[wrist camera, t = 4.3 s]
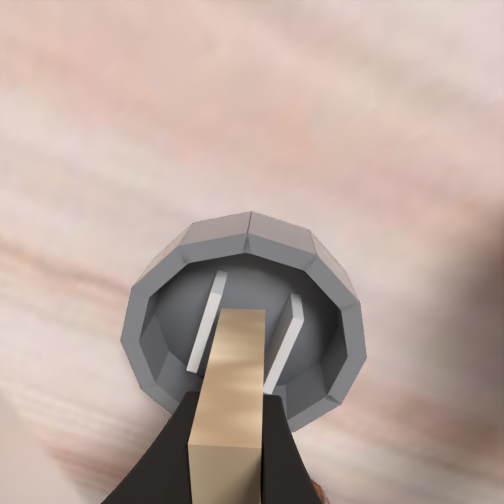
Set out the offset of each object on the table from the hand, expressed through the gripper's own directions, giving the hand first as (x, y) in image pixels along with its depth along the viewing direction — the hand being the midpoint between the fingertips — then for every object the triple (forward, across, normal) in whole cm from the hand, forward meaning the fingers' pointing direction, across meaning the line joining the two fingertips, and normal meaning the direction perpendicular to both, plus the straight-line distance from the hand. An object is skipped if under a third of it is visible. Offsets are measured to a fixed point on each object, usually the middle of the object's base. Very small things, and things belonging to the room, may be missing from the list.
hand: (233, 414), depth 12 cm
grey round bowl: (+7, 0, 0) cm, 7 cm away
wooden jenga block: (+5, 0, 0) cm, 5 cm away
